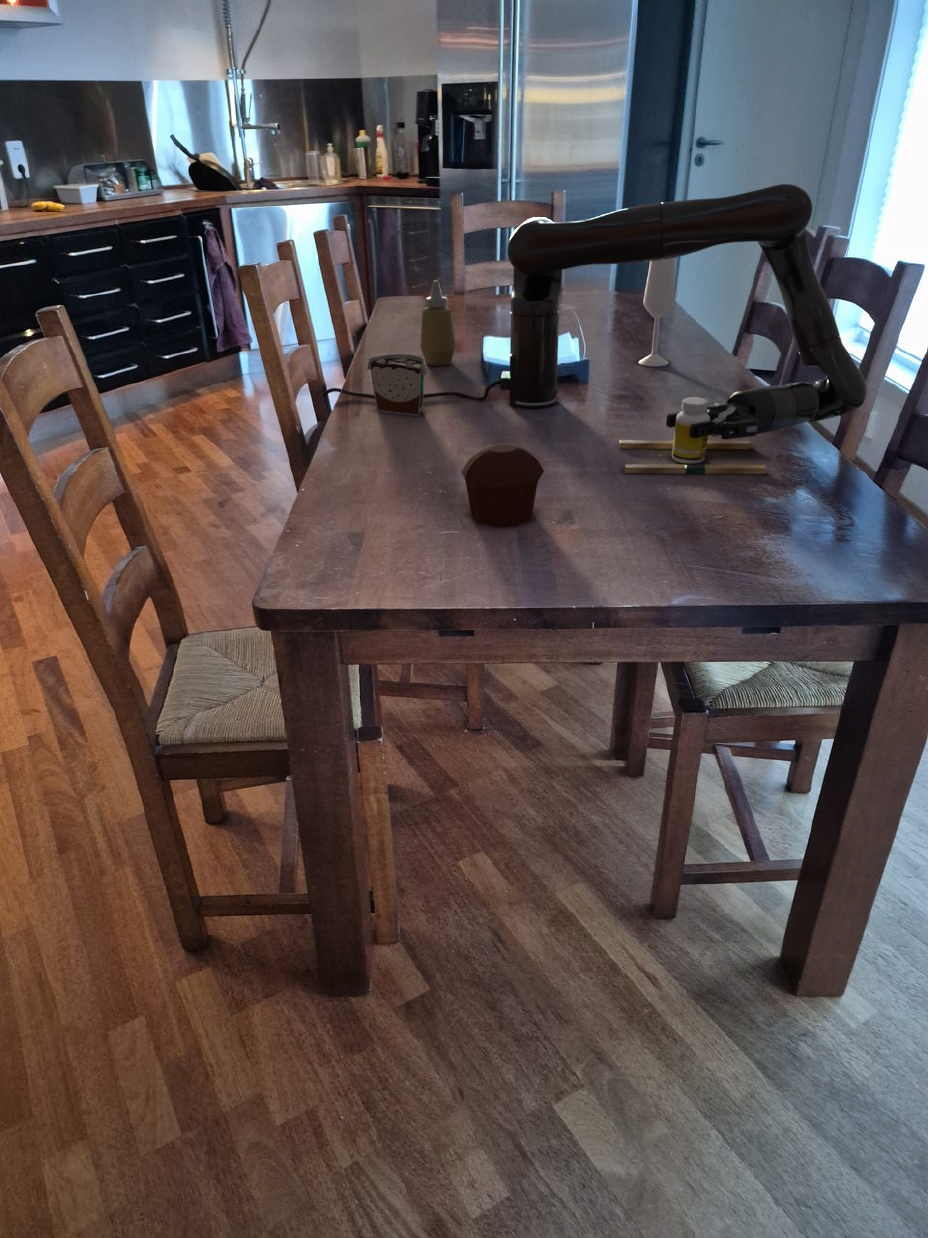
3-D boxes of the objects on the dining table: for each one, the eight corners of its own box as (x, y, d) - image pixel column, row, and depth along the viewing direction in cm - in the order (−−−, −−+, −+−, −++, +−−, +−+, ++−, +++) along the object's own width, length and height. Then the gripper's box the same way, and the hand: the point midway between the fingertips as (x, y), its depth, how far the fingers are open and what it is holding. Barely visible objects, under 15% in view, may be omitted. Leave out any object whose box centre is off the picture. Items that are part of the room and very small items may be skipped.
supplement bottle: (705, 465, 140) (713, 406, 135) (671, 464, 141) (677, 405, 136) (704, 454, 145) (711, 396, 140) (671, 452, 146) (677, 395, 141)
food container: (440, 408, 170) (438, 356, 165) (426, 417, 165) (423, 364, 160) (385, 401, 175) (382, 351, 169) (370, 410, 170) (366, 358, 165)
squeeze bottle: (461, 359, 202) (459, 278, 192) (449, 368, 195) (446, 284, 186) (428, 357, 204) (425, 276, 195) (416, 366, 197) (411, 283, 188)
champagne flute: (656, 367, 192) (666, 251, 179) (632, 362, 196) (641, 248, 184) (674, 362, 195) (686, 247, 183) (650, 357, 200) (660, 245, 188)
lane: (625, 473, 138) (625, 467, 138) (618, 445, 149) (619, 440, 149) (765, 474, 136) (766, 468, 136) (748, 446, 148) (749, 440, 147)
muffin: (481, 536, 119) (480, 467, 114) (450, 507, 128) (448, 442, 123) (556, 520, 123) (559, 453, 118) (521, 493, 132) (522, 430, 127)
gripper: (735, 377, 149) (654, 391, 142) (796, 399, 137) (711, 415, 131) (729, 420, 152) (650, 435, 146) (788, 444, 141) (705, 462, 135)
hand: (679, 426), depth 139 cm, fingers closed on supplement bottle, 5 cm apart
